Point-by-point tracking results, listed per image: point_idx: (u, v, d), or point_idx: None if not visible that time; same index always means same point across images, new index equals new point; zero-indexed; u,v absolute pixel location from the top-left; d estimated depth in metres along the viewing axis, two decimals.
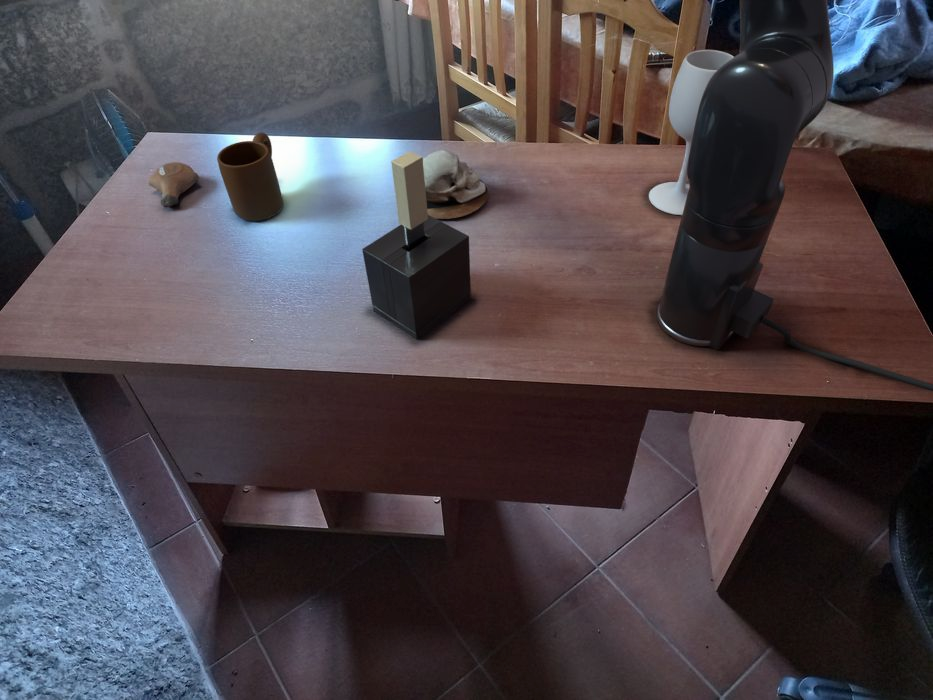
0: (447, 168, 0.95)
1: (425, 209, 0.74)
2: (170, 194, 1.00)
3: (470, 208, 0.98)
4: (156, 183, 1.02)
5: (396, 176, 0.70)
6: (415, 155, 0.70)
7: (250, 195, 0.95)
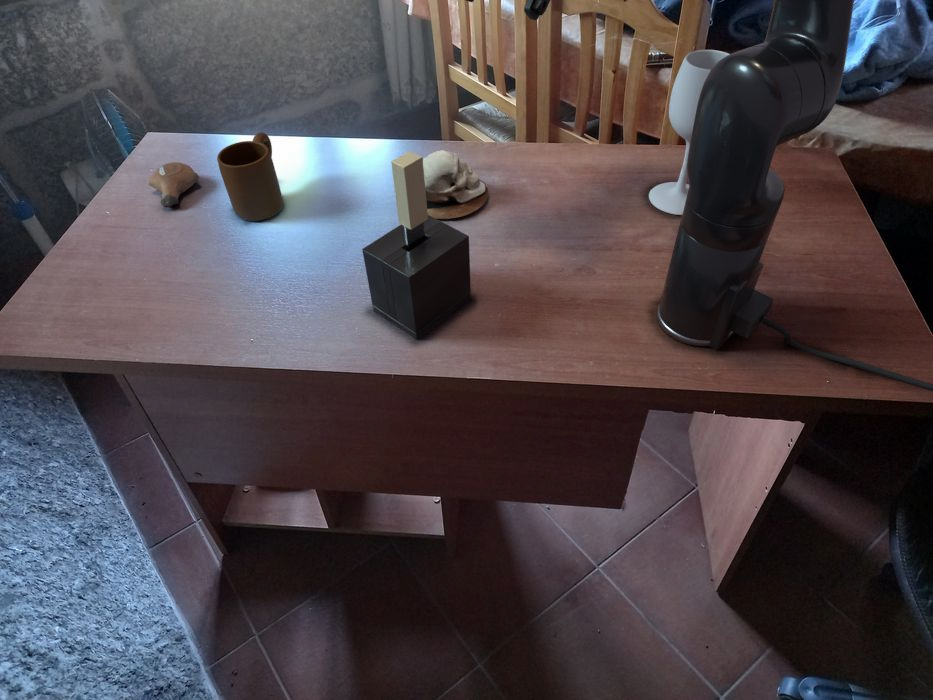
0: (447, 168, 0.95)
1: (425, 209, 0.74)
2: (170, 194, 1.00)
3: (470, 208, 0.98)
4: (156, 183, 1.02)
5: (396, 176, 0.70)
6: (415, 155, 0.70)
7: (250, 195, 0.95)
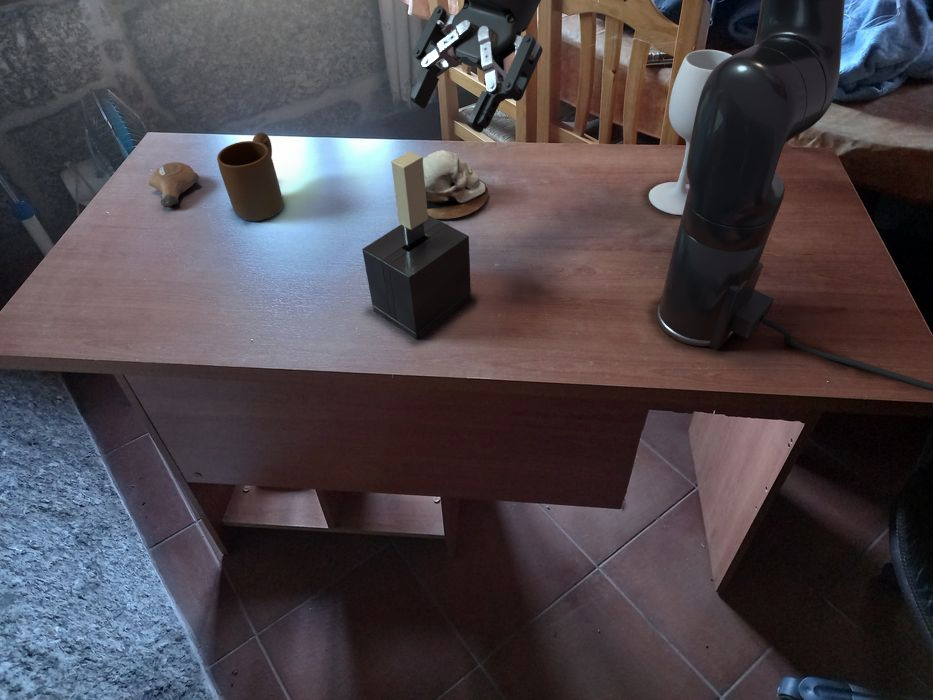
0: (447, 168, 0.95)
1: (425, 209, 0.74)
2: (170, 194, 1.00)
3: (470, 208, 0.98)
4: (156, 183, 1.02)
5: (396, 176, 0.70)
6: (415, 155, 0.70)
7: (250, 195, 0.95)
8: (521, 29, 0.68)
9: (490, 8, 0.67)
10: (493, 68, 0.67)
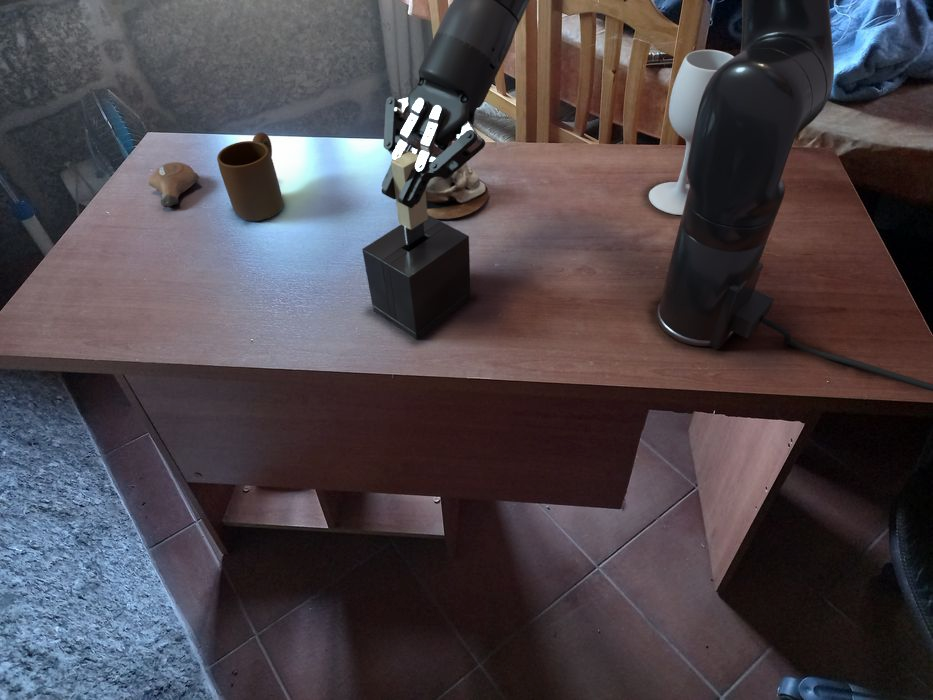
0: None
1: (425, 209, 0.74)
2: (170, 194, 1.00)
3: (470, 208, 0.98)
4: (156, 183, 1.02)
5: (396, 176, 0.70)
6: (415, 155, 0.70)
7: (250, 195, 0.95)
8: (475, 107, 0.68)
9: (443, 87, 0.68)
10: (428, 150, 0.68)
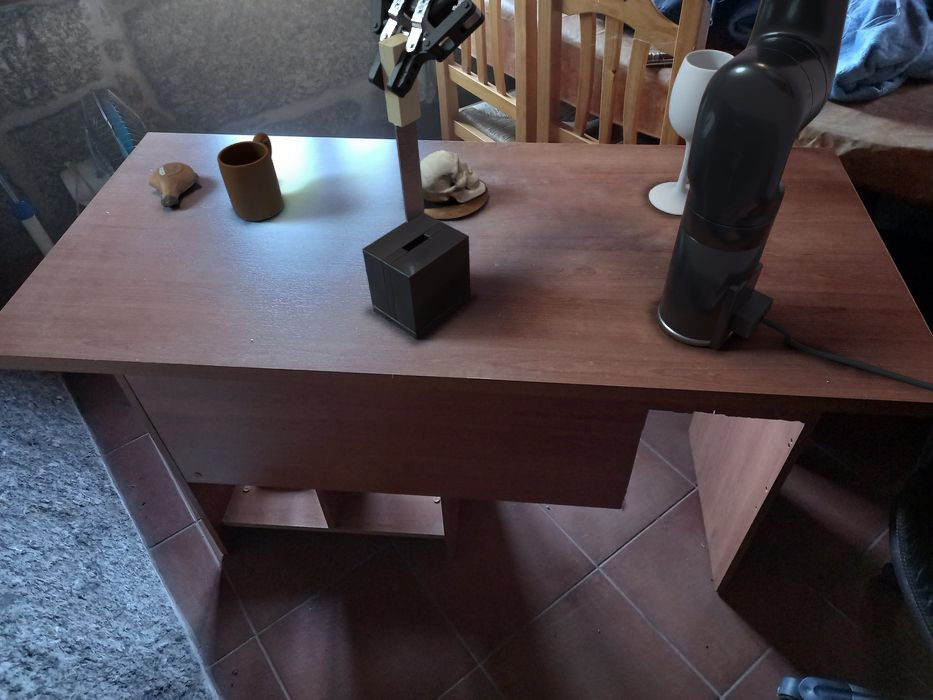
0: (447, 168, 0.95)
1: (418, 105, 0.66)
2: (170, 194, 1.00)
3: (470, 208, 0.98)
4: (156, 183, 1.02)
5: (384, 60, 0.62)
6: (405, 36, 0.62)
7: (250, 195, 0.95)
8: None
9: None
10: (420, 27, 0.60)
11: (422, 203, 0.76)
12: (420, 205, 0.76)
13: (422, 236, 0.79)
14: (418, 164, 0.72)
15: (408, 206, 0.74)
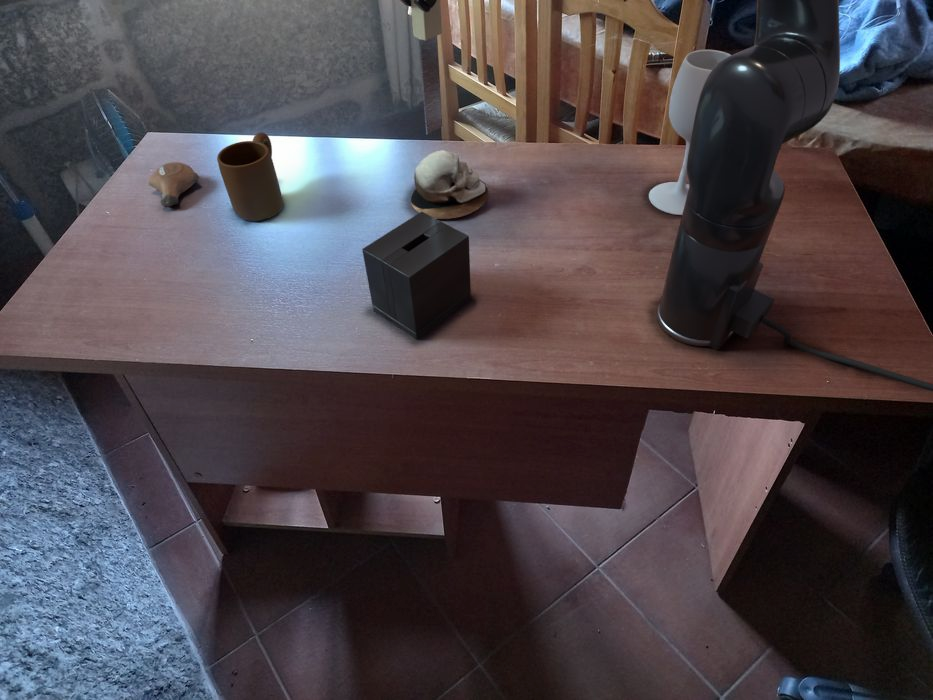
0: (447, 168, 0.95)
1: (439, 21, 0.76)
2: (170, 194, 1.00)
3: (470, 208, 0.98)
4: (156, 183, 1.02)
5: None
6: None
7: (250, 195, 0.95)
8: None
9: None
10: None
11: (440, 117, 0.85)
12: (439, 119, 0.85)
13: (422, 236, 0.79)
14: (438, 79, 0.81)
15: (428, 119, 0.83)
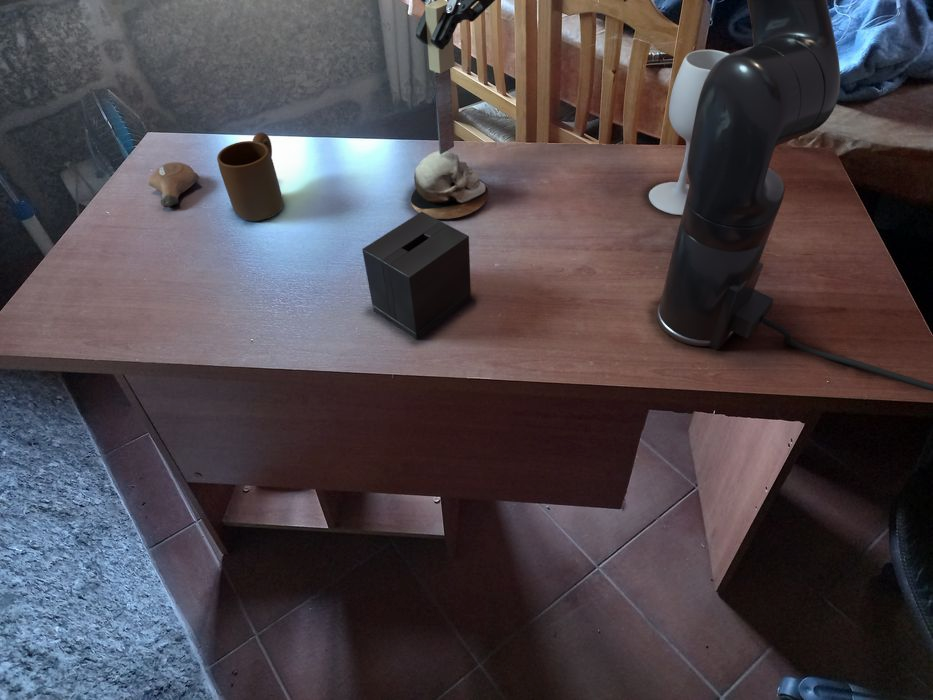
0: (447, 168, 0.95)
1: (452, 56, 0.86)
2: (170, 194, 1.00)
3: (470, 208, 0.98)
4: (156, 183, 1.02)
5: (429, 20, 0.82)
6: (445, 1, 0.81)
7: (250, 195, 0.95)
8: None
9: None
10: None
11: (452, 139, 0.95)
12: (451, 141, 0.95)
13: (422, 236, 0.79)
14: (450, 106, 0.91)
15: (442, 140, 0.93)
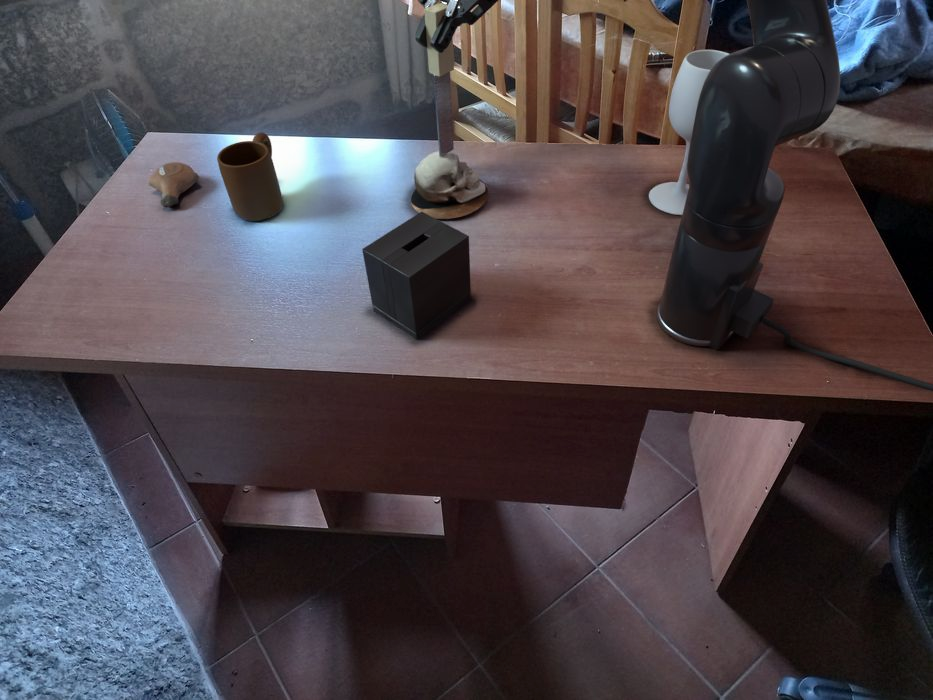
0: (447, 168, 0.95)
1: (452, 59, 0.86)
2: (170, 194, 1.00)
3: (470, 208, 0.98)
4: (156, 183, 1.02)
5: (428, 23, 0.82)
6: (444, 5, 0.82)
7: (250, 195, 0.95)
8: None
9: None
10: None
11: (452, 142, 0.95)
12: (450, 143, 0.95)
13: (422, 236, 0.79)
14: (450, 109, 0.92)
15: (441, 143, 0.94)
